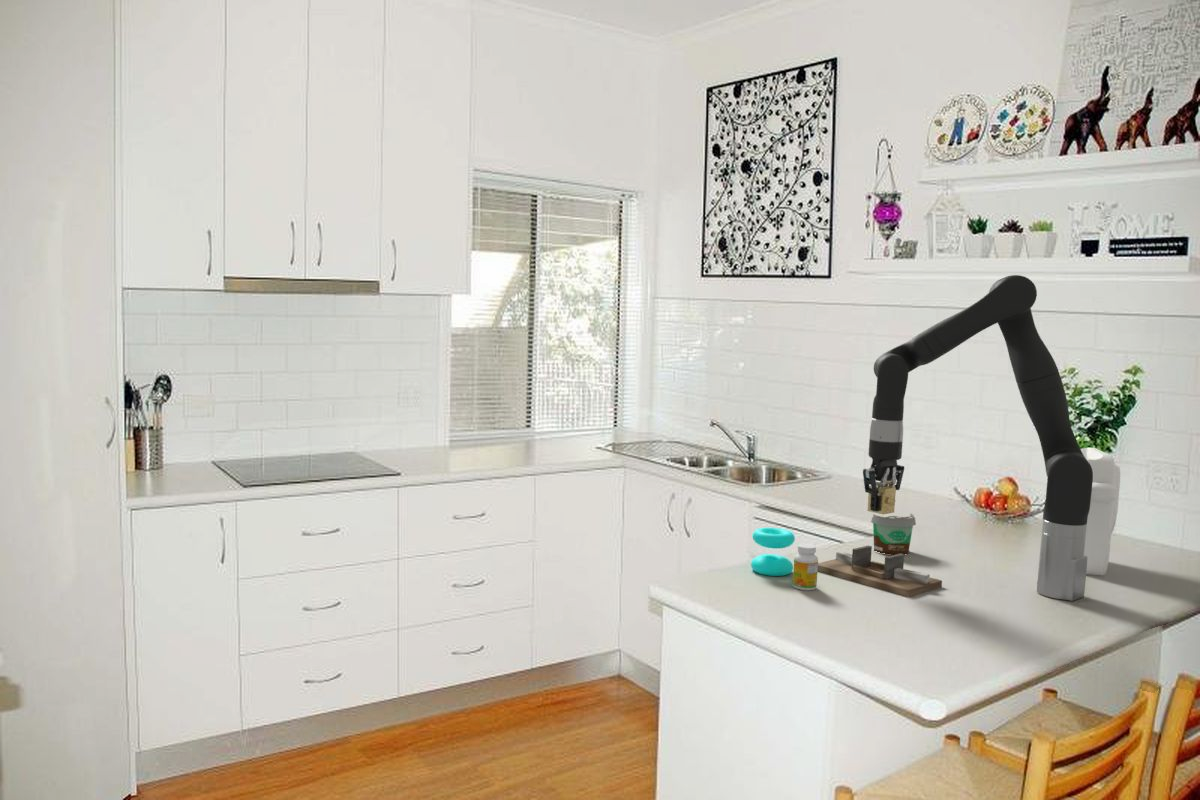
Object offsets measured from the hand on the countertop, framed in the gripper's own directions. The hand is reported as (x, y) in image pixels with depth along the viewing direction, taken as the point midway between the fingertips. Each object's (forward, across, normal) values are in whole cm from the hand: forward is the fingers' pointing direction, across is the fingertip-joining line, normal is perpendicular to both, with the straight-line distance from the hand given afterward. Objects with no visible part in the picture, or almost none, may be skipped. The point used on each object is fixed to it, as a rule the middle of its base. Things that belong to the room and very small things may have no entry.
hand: (881, 509), depth 237 cm
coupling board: (+17, 0, 0) cm, 17 cm away
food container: (+17, +25, +11) cm, 32 cm away
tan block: (+1, 0, 0) cm, 1 cm away
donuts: (+17, -17, +18) cm, 30 cm away
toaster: (+17, +58, -24) cm, 65 cm away
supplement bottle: (+17, -21, +5) cm, 28 cm away
